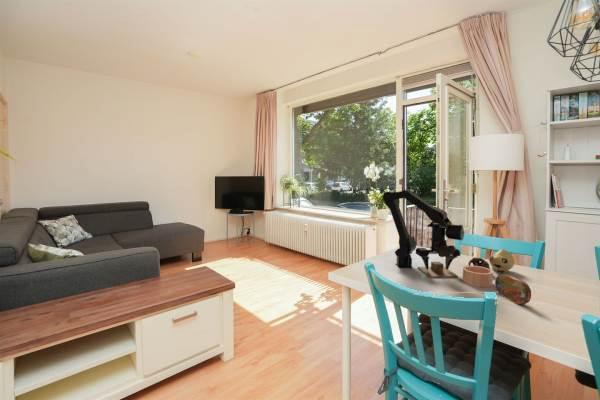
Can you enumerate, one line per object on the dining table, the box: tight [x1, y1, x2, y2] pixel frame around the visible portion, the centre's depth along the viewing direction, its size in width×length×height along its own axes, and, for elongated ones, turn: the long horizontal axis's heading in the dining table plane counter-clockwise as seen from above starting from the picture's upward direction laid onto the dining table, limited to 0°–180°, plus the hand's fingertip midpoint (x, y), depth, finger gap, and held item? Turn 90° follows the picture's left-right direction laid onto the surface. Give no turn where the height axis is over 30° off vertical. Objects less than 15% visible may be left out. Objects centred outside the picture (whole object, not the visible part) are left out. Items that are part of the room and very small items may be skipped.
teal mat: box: [415, 267, 462, 280], centre depth 144 cm, size 15×15×1 cm
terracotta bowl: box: [462, 265, 494, 288], centre depth 132 cm, size 11×11×6 cm
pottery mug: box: [467, 257, 492, 270], centre depth 146 cm, size 12×9×8 cm
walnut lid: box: [417, 261, 459, 278], centre depth 144 cm, size 13×13×5 cm
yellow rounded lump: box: [488, 248, 515, 274], centre depth 147 cm, size 10×12×11 cm
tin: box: [494, 273, 532, 305], centre depth 116 cm, size 15×3×8 cm, turn 5°
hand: (436, 269), depth 144 cm, fingers open, 9 cm apart
